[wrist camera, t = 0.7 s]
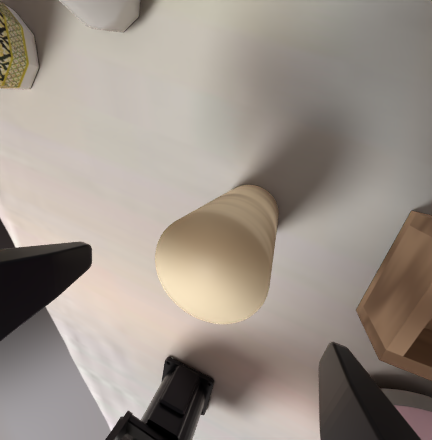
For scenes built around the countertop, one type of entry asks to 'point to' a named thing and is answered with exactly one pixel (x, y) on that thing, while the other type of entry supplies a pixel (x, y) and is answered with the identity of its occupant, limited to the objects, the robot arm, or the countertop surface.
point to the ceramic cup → (16, 51)
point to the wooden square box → (403, 300)
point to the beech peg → (221, 256)
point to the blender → (413, 410)
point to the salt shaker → (105, 13)
